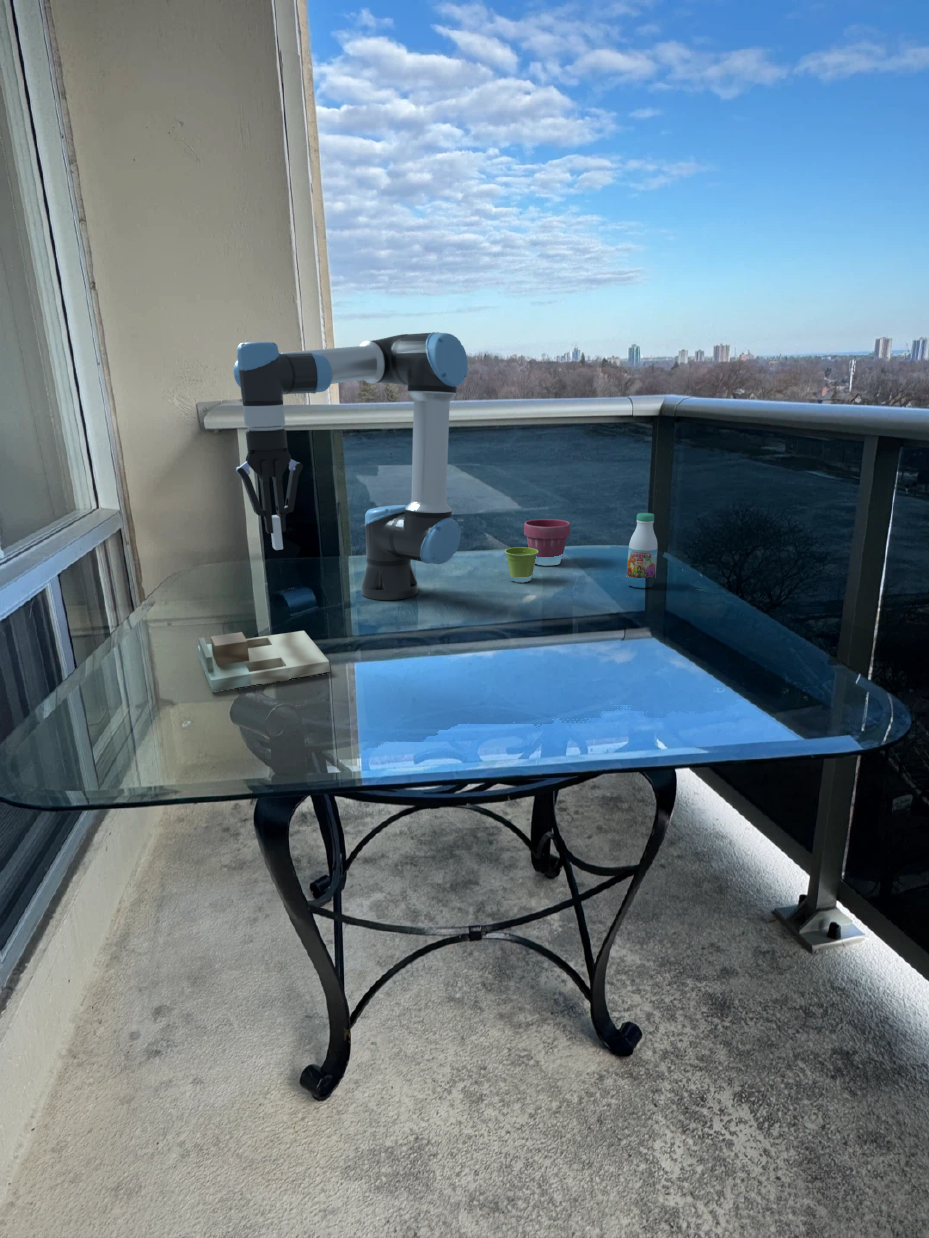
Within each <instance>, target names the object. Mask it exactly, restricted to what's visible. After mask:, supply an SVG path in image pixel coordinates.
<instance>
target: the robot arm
mask: <svg viewBox="0 0 929 1238" xmlns="http://www.w3.org/2000/svg"><path fill="white" fill-rule="evenodd" d="M236 351H237V352H236V361H235V364H234V367H233V377H234V381H235V382H236V384H237V385H238V387H239V388H240V395H241V401H242V403H241V404H242V409H243V421H244V426H245V427H246V428H247V430H246V431H245V439H246V448H247V455H246V457H245V462H244V463H242V464H241V465H239V466H236V467H235V468H234V470H235V472H236V473H237V475H238V476H239V477H240V478H241V480H242V483H243V486H244V488H245V491H246V493H247V497H248V499H249V503H250V504H251V507H252V511H253V512H254V514H256V515H257V516H258V517H259V516H261V517H263V520H264V526H265V528H264V529H265V531H266V533H267V534H271V543H272V544H271V545H272V548H273V549H274V550H275V551H279V550H283V549H284V544H283V543H284V542H283V535H282V534H283V533H285V532H286V531H287V525H286V524H287V523H286V516H287V515H288V514H289V513H293V512H294V510H295V503H296V497H297V488H298V482H299V476H300V474H301V472H302V470H303V468H304V464H302V463H301V462H298V461H296V460H294V459H292V457H291V454H290V453H289V449H288V441H287V440H288V439H287V431H286V429H285V428H283V427H284V426H286V419H285V408H284V397H283V396H284V395H298V394H299V395H300V394H312V395H313V394H314V395H315V394H316V393H317V394H318V393H323V392H326V391H327V390H328V389H329V388H330V386H331V385H333V384H334V385H335V384H336V385H337V384H343V383H351V382H358V381H359V382H360V381H364V382H366V383H367V384H379V383H382V384H393V385H403V386H407V393H408V395H409V396H410V397H411V398H412V400H413V415H412V416H413V419H412V420H413V421H412V423H413V425H412V459H411V460H412V461H411V463H412V467H411V472H412V473H411V499H410V502H409V503H408V504H397V505H395V504H394V505H386V506H385V505H384V506H378V507H373V508H369V509H368V510H367V511H366V512H365V514H364V537H365V555H366V567H365V571H364V574H363V577H362V580H361V585H360V593H361V595H362V596H363V597H365V598H367V599H371V600H379V601H395V600H396V601H397V600H403V599H408V598H411V597H414V596H416V595H417V594H418V593H419V584H418V581H417V578H416V575H415V572H414V568H413V566H412V561H417V562H422V563H424V564H427V565H429V564H433V565H443V564H445V563H447V562H449V561H450V560H451V559H452V558H453V556H454V555H455V554H456V553H457V550H458V549H459V546H460V543H461V537H462V532H461V531H462V530H461V527H460V526H459V523H458V522H457V520H455V519H453V518H452V517H453V515H452V514H453V509H452V508H451V506H450V505H449V504H448V503H447V489H448V488H447V487H448V485H447V484H448V482H447V481H448V460H449V459H448V458H449V457H448V456H449V430H450V429H449V428H450V406H451V405H450V404H451V401H452V399H454V397H456V396H457V390H458V389H457V388H458V386H459V385H461V384H462V383H463V382H464V381H465V378H466V377H467V374H468V369H469V363H468V355H467V352H466V350H465V347H464V345H462V342H461V341H460V339H459V338H458V337H456V336H455V335H454V334H451V333H448V332H438V331H437V332H435V331H433V332H422V333H402V334H397V335H396V334H395V335H393V336H389V337H384V338H380V339H378V338H377V339H374V340H365V341H362V342H361V343H360V344H359V345H358V346H347V347H346V346H345V347H344V346H343V347H334V348H323V349H322V348H321V349H309V350H297V351H296V350H295V351H285V352H284V351H283V352H280V350H279V346H278V344H277V342H276V343H275V342H273V341H272V342H271V341H269V342H267V341H264V342H263V341H255V342H254V341H253V342H252V341H251V342H250V341H249V342H241V343H239V345H238V346H237V348H236ZM287 468H288V469H289V475H288V482H287V483H288V484H287V489H286V497H284V489H283V488H284V487H283V475H284V473H285V471H286V470H287ZM250 469H251V470H252V471H253V472H254V473H255V474H256V475H257V476H258V480H259V485H260V486H259V487H260V495H261V496H260V497H261V503H260V500H259V499H258V495H257V493H256V490H255V487H254V484H253V481H252V479H251V477H250V474H251V470H250ZM270 478H271V479H272V482H273V493H274V494H273V495H274V502H275V503H274V504H275V511H276V514H273V512H272V511H273V510H272V499H271V491H270V490H271V489H270ZM284 498H285V499H284ZM261 504H262V506H261Z"/></svg>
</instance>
